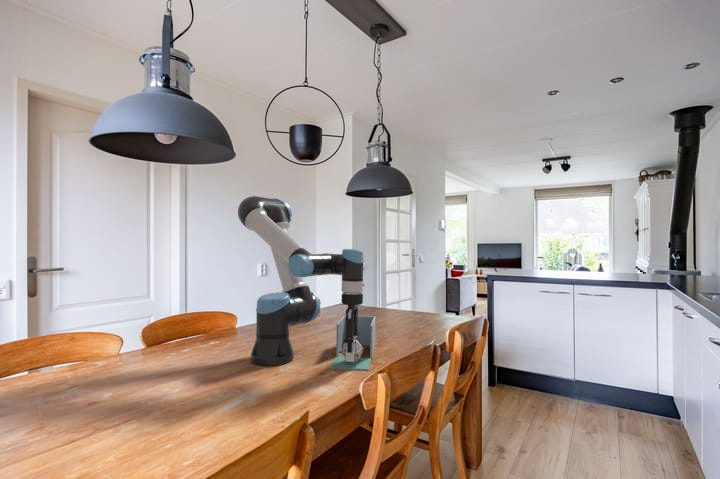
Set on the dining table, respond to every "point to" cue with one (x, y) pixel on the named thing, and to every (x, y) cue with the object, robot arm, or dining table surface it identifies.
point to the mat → (351, 364)
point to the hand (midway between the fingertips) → (351, 357)
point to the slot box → (364, 329)
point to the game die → (357, 350)
